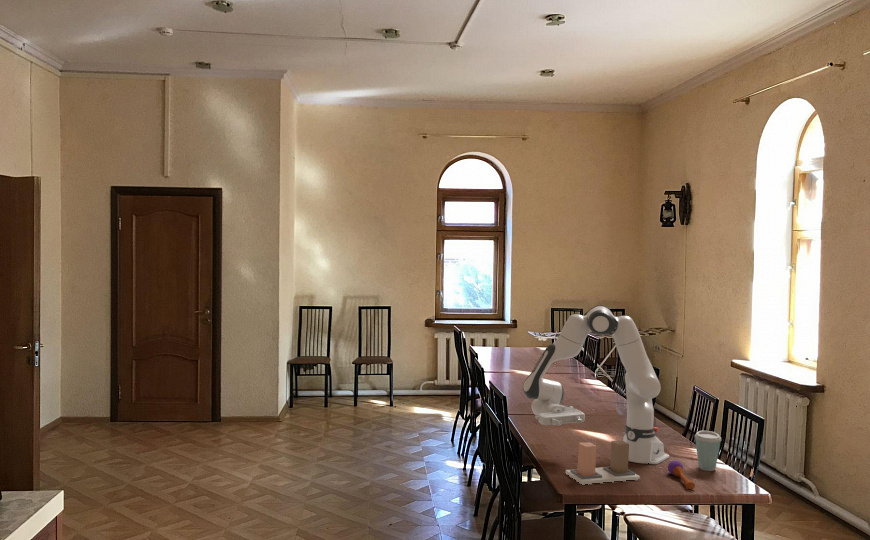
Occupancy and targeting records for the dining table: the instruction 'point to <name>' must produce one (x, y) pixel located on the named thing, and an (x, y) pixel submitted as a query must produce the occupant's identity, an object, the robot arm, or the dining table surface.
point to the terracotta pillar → (586, 459)
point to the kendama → (680, 473)
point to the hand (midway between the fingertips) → (570, 422)
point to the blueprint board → (612, 473)
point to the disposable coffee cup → (707, 449)
